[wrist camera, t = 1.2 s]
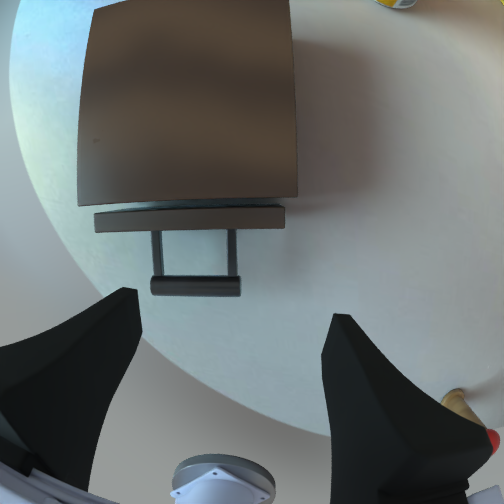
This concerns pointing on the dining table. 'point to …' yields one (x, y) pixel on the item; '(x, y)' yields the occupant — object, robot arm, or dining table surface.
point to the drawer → (193, 219)
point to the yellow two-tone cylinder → (396, 3)
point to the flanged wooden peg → (460, 406)
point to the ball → (494, 439)
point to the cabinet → (187, 102)
